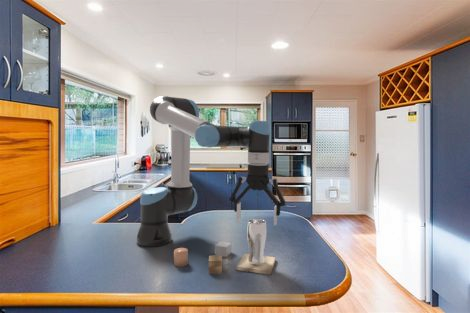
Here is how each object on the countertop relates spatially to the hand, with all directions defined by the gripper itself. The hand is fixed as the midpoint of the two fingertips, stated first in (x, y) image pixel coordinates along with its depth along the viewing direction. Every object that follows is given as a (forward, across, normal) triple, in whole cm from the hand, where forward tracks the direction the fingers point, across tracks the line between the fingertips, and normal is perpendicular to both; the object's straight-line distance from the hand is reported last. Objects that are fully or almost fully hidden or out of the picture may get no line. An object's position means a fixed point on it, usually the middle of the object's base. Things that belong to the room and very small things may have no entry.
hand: (256, 222), depth 105 cm
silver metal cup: (+15, 0, 0) cm, 15 cm away
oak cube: (+16, -12, -9) cm, 22 cm away
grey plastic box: (+16, -14, +6) cm, 22 cm away
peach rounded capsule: (+16, -26, -7) cm, 32 cm away
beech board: (+16, +1, 0) cm, 16 cm away
